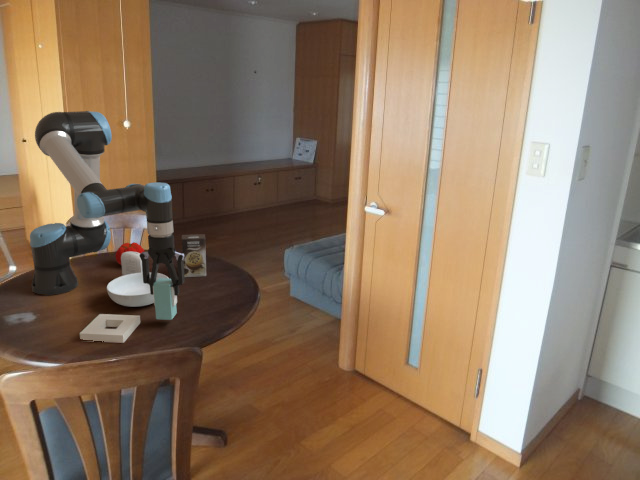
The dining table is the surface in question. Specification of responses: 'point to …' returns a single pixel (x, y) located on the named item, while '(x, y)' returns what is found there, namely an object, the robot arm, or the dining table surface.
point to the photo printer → (131, 263)
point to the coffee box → (194, 255)
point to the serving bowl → (131, 290)
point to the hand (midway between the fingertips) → (165, 303)
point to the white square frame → (118, 335)
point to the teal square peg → (164, 299)
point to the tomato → (126, 248)
